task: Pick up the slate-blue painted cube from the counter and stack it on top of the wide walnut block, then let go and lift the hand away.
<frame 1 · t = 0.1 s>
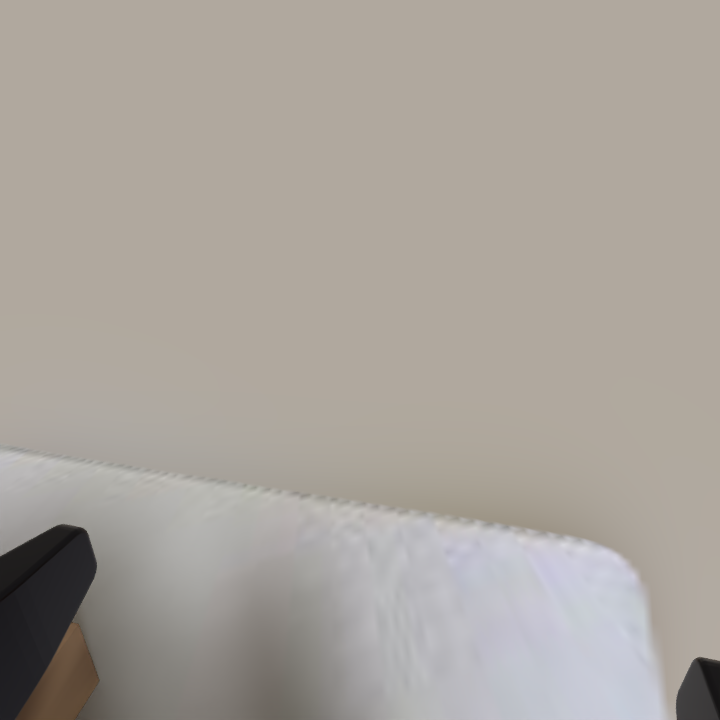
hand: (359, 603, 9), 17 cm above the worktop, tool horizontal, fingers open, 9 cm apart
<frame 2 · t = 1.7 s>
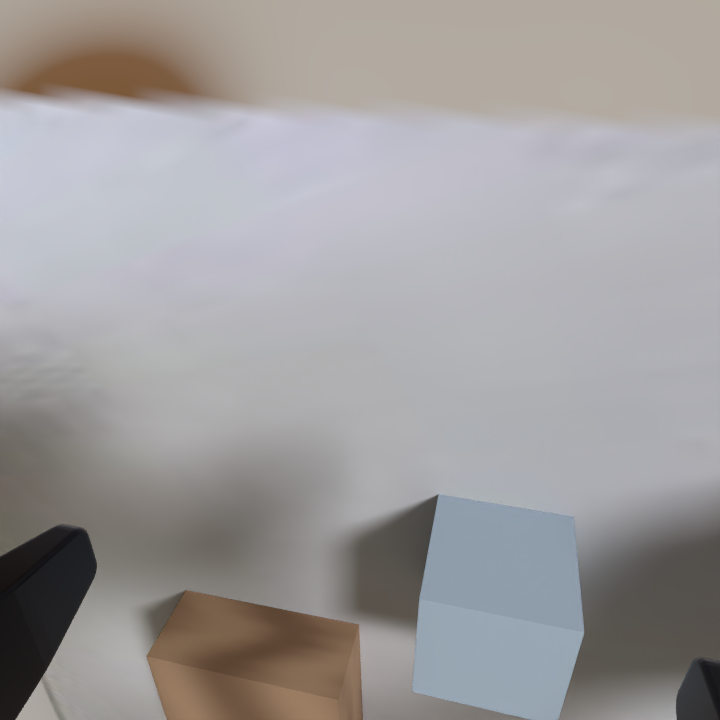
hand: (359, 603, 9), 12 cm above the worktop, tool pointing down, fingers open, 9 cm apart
walnut block: (280, 658, 32), on the worktop
slate cube: (496, 550, 24), on the worktop
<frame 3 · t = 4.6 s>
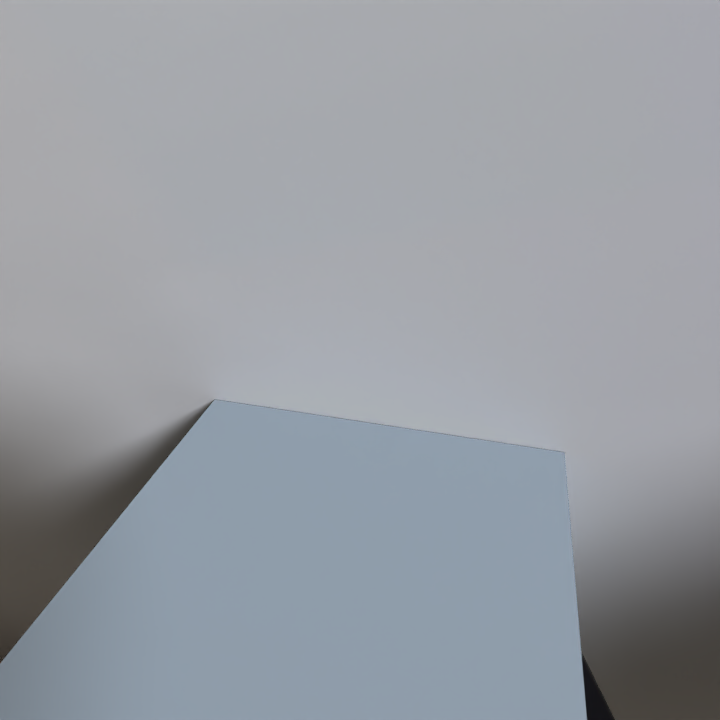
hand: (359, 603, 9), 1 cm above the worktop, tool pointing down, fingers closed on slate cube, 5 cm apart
slate cube: (375, 550, 10), on the worktop, touching gripper
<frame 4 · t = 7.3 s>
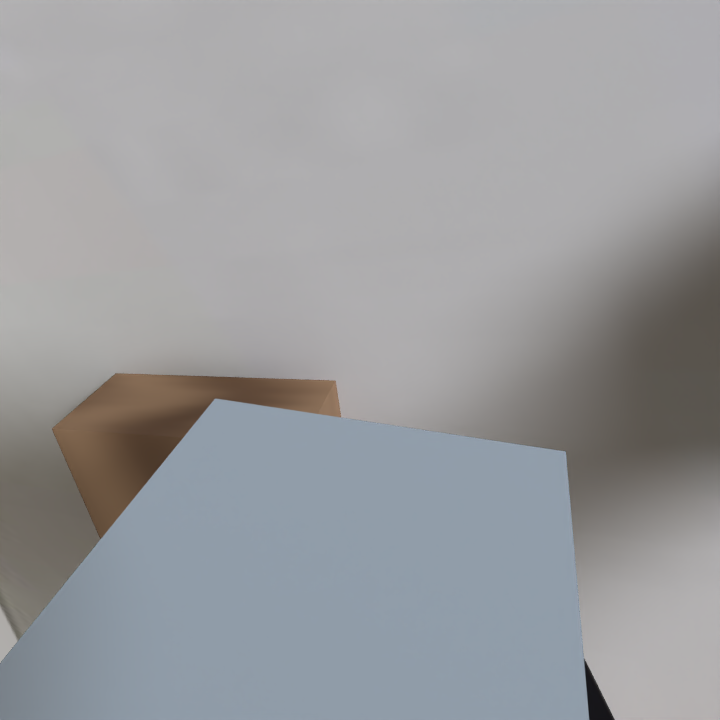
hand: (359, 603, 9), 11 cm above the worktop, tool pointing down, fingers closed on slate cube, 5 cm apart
walnut block: (247, 467, 25), on the worktop
slate cube: (375, 549, 10), point 10 cm above the worktop, touching gripper
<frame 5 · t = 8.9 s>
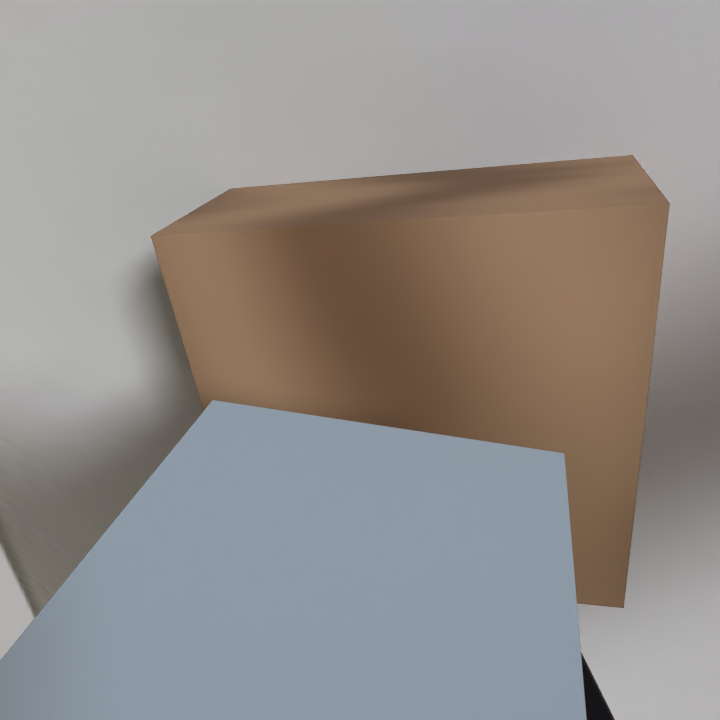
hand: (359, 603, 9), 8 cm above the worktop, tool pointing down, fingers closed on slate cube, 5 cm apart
walnut block: (430, 345, 16), on the worktop
slate cube: (374, 551, 10), point 7 cm above the worktop, touching gripper
when the fingers open (6 cm above the worktop, at t = 10.1 s): slate cube drops 1 cm, resting on walnut block.
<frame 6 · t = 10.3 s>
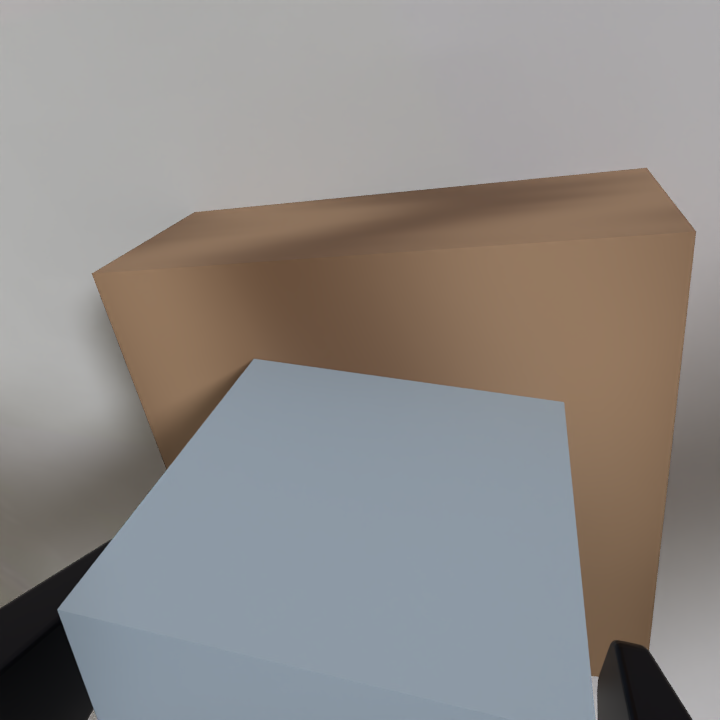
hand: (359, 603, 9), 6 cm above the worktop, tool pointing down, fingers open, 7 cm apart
walnut block: (422, 379, 14), on the worktop, touching slate cube
slate cube: (394, 496, 11), point 4 cm above the worktop, touching walnut block
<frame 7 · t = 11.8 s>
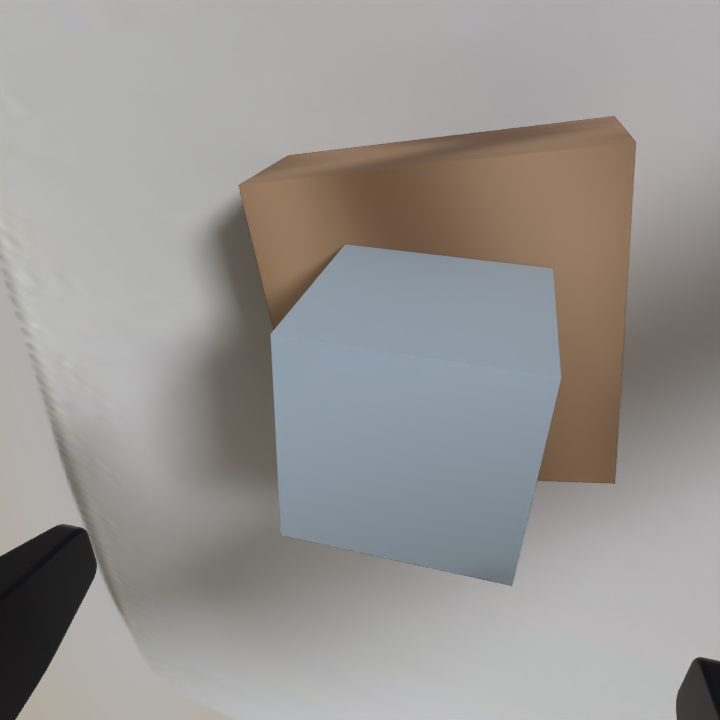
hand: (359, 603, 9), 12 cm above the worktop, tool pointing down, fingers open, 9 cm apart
walnut block: (452, 283, 19), on the worktop, touching slate cube
slate cube: (435, 347, 16), point 4 cm above the worktop, touching walnut block
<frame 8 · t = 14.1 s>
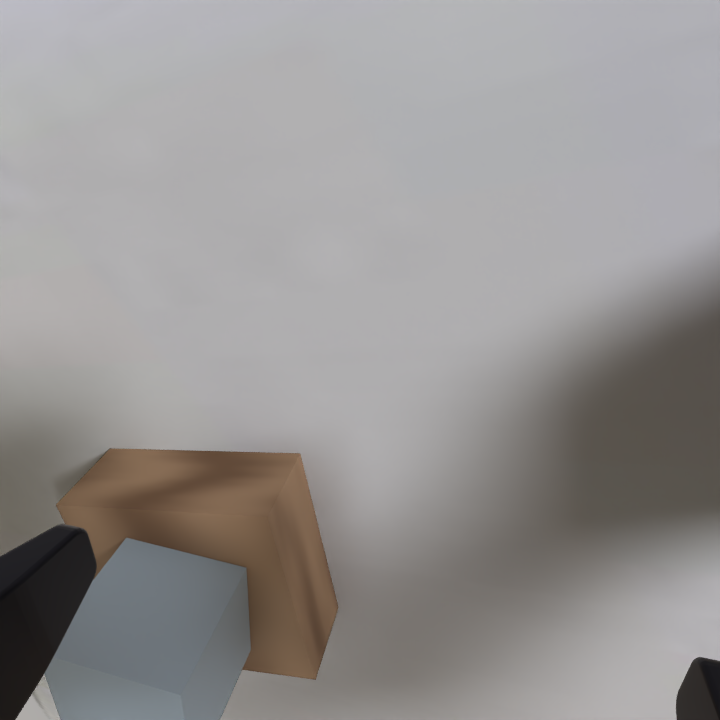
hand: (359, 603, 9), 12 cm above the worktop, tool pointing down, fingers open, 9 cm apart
walnut block: (231, 524, 28), on the worktop
slate cube: (190, 595, 24), point 4 cm above the worktop
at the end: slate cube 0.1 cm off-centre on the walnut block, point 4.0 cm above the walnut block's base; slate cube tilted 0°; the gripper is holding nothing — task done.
